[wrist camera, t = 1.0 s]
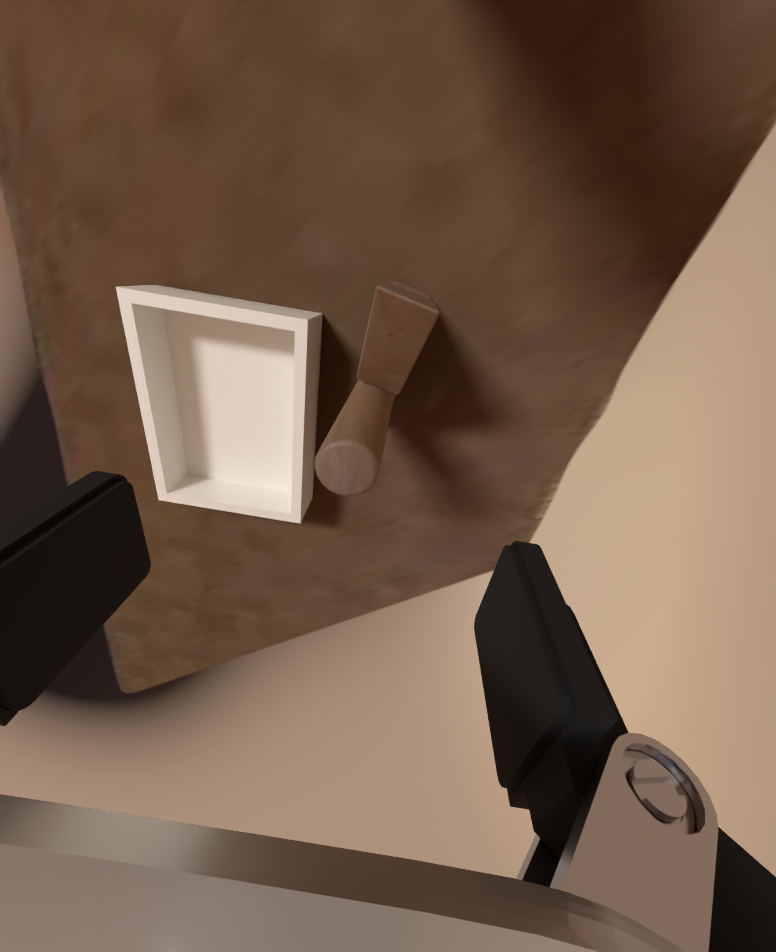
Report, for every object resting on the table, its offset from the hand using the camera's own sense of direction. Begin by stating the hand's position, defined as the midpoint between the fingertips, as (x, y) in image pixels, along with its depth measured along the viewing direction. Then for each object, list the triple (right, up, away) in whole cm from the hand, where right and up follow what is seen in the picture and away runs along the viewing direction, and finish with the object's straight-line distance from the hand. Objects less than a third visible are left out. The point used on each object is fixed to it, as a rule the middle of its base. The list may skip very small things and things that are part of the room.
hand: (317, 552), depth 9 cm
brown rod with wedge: (+2, +14, +24) cm, 28 cm away
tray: (-13, +9, +28) cm, 32 cm away
